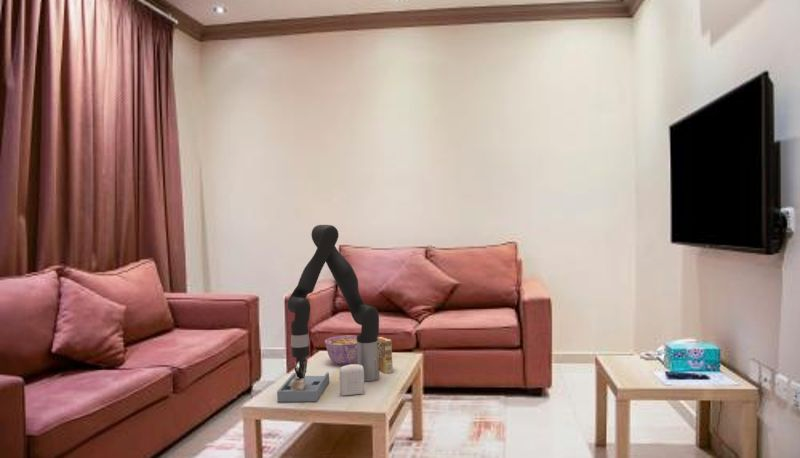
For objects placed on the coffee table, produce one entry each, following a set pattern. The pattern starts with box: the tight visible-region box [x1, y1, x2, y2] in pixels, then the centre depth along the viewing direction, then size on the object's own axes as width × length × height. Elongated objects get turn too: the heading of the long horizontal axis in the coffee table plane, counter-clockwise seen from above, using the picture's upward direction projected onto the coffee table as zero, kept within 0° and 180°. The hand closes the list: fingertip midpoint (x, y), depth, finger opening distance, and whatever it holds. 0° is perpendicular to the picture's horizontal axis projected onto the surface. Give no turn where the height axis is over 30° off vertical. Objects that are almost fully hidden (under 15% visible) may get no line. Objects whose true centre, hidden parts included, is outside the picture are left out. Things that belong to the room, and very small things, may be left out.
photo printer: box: [339, 363, 365, 397], centre depth 244 cm, size 10×4×12 cm, turn 103°
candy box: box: [377, 336, 394, 374], centre depth 276 cm, size 9×4×15 cm, turn 33°
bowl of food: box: [324, 334, 358, 366], centre depth 292 cm, size 20×20×12 cm
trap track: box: [276, 372, 330, 403], centre depth 249 cm, size 16×26×4 cm, turn 176°
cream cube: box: [290, 378, 306, 391], centre depth 239 cm, size 5×5×5 cm
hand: (301, 385), depth 244 cm, fingers closed
